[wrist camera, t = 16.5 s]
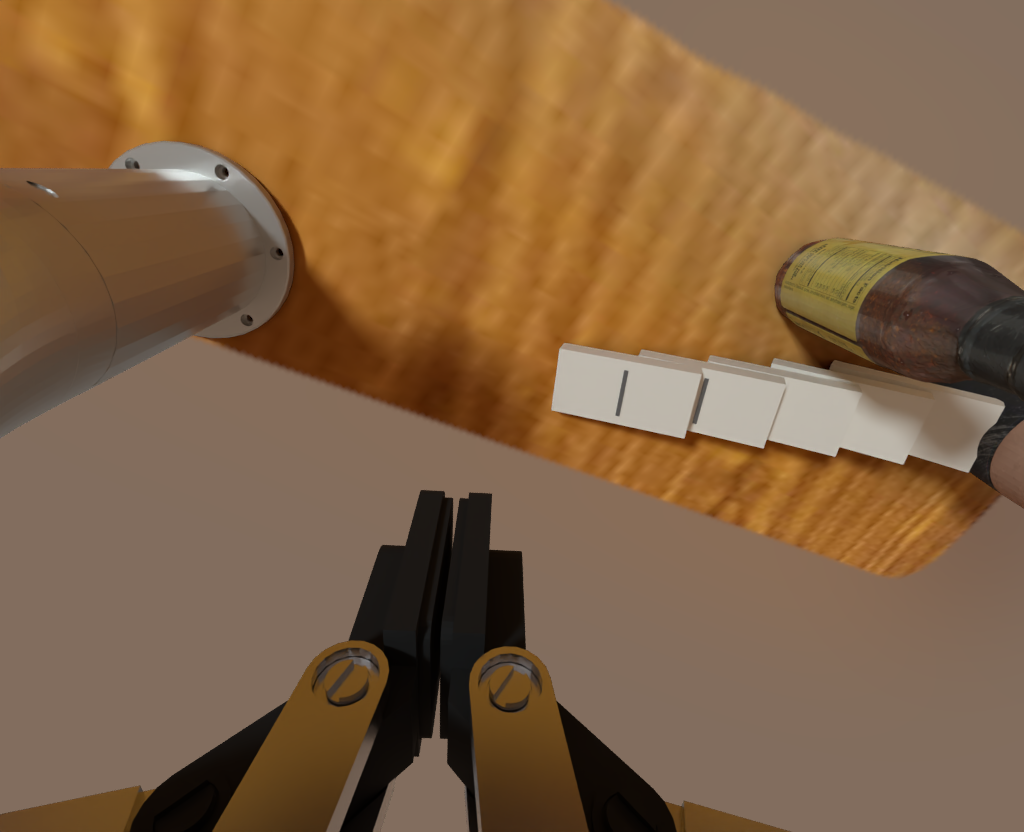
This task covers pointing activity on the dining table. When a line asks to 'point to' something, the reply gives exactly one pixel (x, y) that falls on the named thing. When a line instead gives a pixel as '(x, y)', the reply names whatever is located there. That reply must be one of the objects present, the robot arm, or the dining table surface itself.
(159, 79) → the dining table surface
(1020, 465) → the travel mug
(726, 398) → the domino
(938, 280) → the sauce bottle
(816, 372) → the domino
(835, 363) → the domino
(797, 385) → the domino
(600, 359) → the domino
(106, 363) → the robot arm
